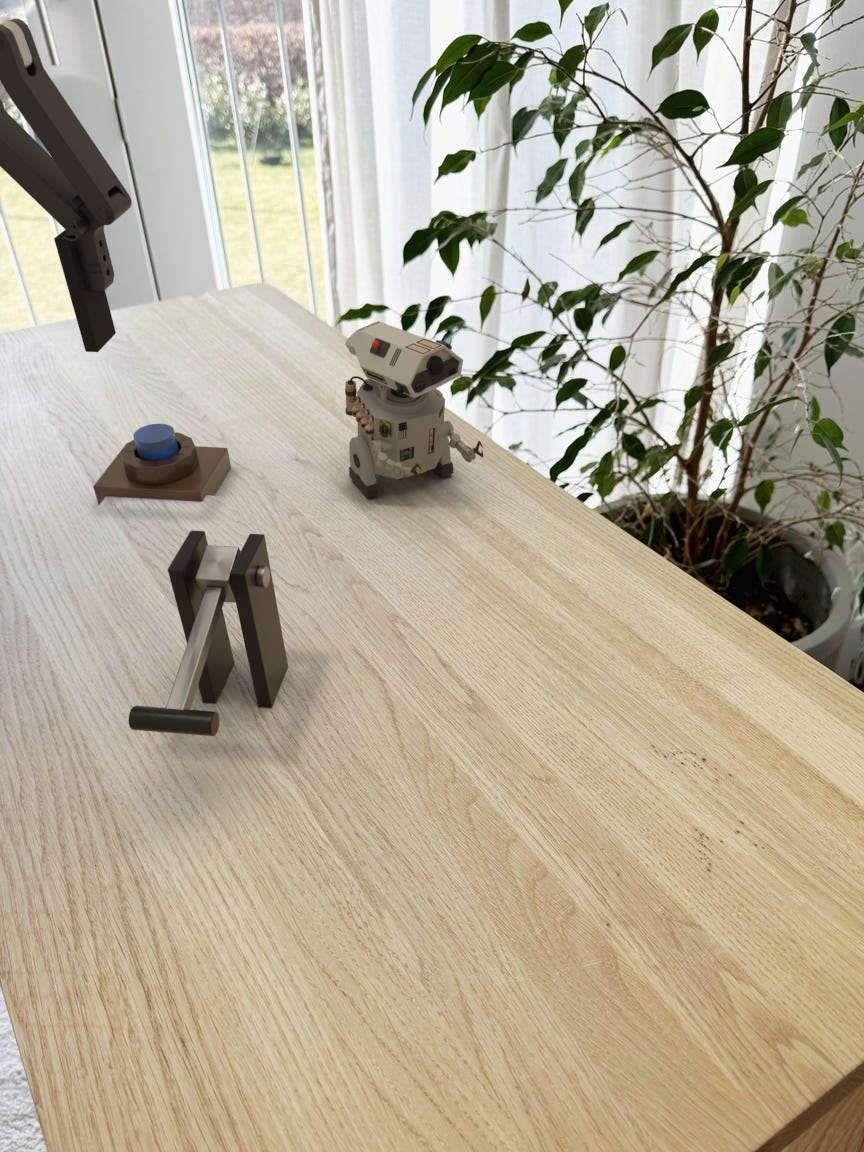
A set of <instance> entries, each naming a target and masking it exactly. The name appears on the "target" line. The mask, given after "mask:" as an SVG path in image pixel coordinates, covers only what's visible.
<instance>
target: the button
mask: <svg viewBox="0 0 864 1152" xmlns="http://www.w3.org/2000/svg"><path fill="white" fill-rule="evenodd" d="M133 440H134V441H135V445H136V449H137V453H138V456H139V458H140V459H141V460H143V461H159V460H164V459H168V458H170V457H172V456H174V455H176V454H178V451H179V449H178V445H177V440H176V436H175V429H174V427H173V426H171V425H170V424H166V423H152V424H146V425H144V426H141V427H139V428H138V429H136V430H135V431H134V433H133Z"/></svg>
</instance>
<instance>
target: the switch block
mask: <svg viewBox="0 0 864 1152" xmlns="http://www.w3.org/2000/svg"><path fill="white" fill-rule="evenodd" d="M174 432H175V431H174ZM175 436H176V440H177V445H178V449H179V451H178V454H176V455H174V456H172V457H170V458H168V459H164V460H159V461H143V460H141V459H140V458H139V456H138V453H137V449H136V445H135V441H134V439H132V440H130V441H128V442H126V443H125V444H124V445H123V447H122V449H121V450H120V451H119V453H117V455H116V456H115V457H114V458H113V460H112V461H111V462H110V464H109V465H108V467H107V468H106V469H105V471H103V473H102V474H101V475H100V477H99V478H98V479H97V481H96V482H95V483H94V485H93V491H94V494H95V497H96V501H97V504H98V506H100V505H101V504H102V502H103V501H104V500H105V499H106V498H107V497H110V498H111V497H114V498H131V499H147V500H149V499H151V500H165V501H166V500H168V501H185V502H186V501H187V502H203V501H204V500H205V498H206V497H207V496H214V497H215V496H216V494H217V493H218V491H219V489H220V487H221V486H222V484H223V482H224V481H225V479H226V477H228V474H229V472H230V470H231V469H232V464H231V459H230V454H229V449H228V447H221V446H219V447H217V446H215V447H214V446H198V445H197V446H196V444H195V442H194V440H193V438H192V437H191V436H188V435H186V434H183V433H181V432H175Z"/></svg>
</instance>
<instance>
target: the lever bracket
mask: <svg viewBox="0 0 864 1152" xmlns="http://www.w3.org/2000/svg"><path fill="white" fill-rule="evenodd" d="M206 545H209V544H208V539H207V535H206V531H205V530H193V529H192V530H190V531H189V533H188V534H187V536H186V538H185V540H184V541H183V543H182V544H181V546H180V548H179V549H178V551H177V553H176V554H175V556H174V558H173V559H172V561H171V563H170V564H169V566H168V567H167V573H168V577H169V580H170V584H171V587H172V592H173V596H174V599H175V604H176V607H177V610H178V611H177V612H178V615H179V618H180V622H181V626H182V629H183V635H184V637H185V641H186V644H187V643H188V640H189V637H190V634H191V631H192V628H193V625H194V622H195V619H196V616H197V613H198V610H199V607H200V604H201V601H202V598H203V595H202V593H201V591H200V588H199V586H198V584H197V582H196V579H195V577H196V574H197V571H198V569H199V566H200V563H201V560H202V557H203V554H204V551H205V548H206ZM230 578H231V583H232V587H233V592H234V597H235V601H236V603H235V606H236V610H237V614H238V620H239V625H240V629H241V633H242V639H243V642H244V643H243V644H244V648H245V652H246V657H247V662H248V666H249V671H250V675H251V680H252V684H253V689H254V694H255V699H256V703H257V708H261V709H262V708H264V709H273V706H274V704H275V701H276V699H277V696H278V694H279V691H280V688H281V686H282V683H283V682H284V678H285V676H286V673H287V671H288V668H289V664H288V658H287V651H286V647H285V641H284V636H283V631H282V624H281V618H280V613H279V608H278V603H277V598H276V597H277V596H276V592H275V591H276V590H275V587H274V581H273V574H272V569H271V564H270V558H269V552H268V548H267V542H266V537H265V534H263V533H249V535H248V537H247V538H246V540H245V542H244V544H243V546H242V548H241V549H240V554H239V556H238V558H237V560H236V562H235V564H234V566H233V567H232V569H231V571H230ZM231 645H232V644H231V640H230V636H229V633H228V628H227V623H226V619H225V615H224V610H223V609H222V611H221V614H220V617H219V620H218V623H217V626H216V630H215V633H214V636H213V639H212V642H211V645H210V649H209V652H208V655H207V658H206V661H205V664H204V668H203V671H202V674H201V677H200V680H199V684H198V687H197V688H198V691H199V695H200V699H201V701H202V704H211V705H212V704H213V705H216V704H217V703H218V700H219V698H220V696H221V694H222V692H223V689H224V687H225V685H226V683H227V680H228V678H229V676H230V673H231V671H232V670H233V667H234V665H235V658H234V654H233V650H232V646H231Z"/></svg>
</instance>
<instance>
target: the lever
mask: <svg viewBox="0 0 864 1152" xmlns="http://www.w3.org/2000/svg"><path fill="white" fill-rule="evenodd" d="M240 552H241V549H240V547H239V546H231V545H230V546H227V545H215V544H211V545H210V544H208V545H206V548H205V551H204V554H203V557H202V560H201V563H200V566H199V569H198V571H197V574H196V577H195V579H196V582H197V584H198V586H199V588H200V591H201V593H202V595H203V598H202V601H201V604H200V607H199V610H198V613H197V616H196V619H195V622H194V625H193V628H192V631H191V634H190V637H189V640H188V643H187V642H186V646H185V649H184V652H183V655H182V658H181V661H180V663H179V667H178V671H177V673H176V676H175V679H174V682H173V686H172V689H171V691H170V694H169V697H168V701H167V704H166V707H159V706H148V705H146V706H145V705H134V706H132V707H131V709H130V710H129V713H128V714H129V715H128V726H129V728H130V730H132V731H141V732H154V733H165V734H180V735H190V736H191V735H192V736H203V737H204V736H205V737H215V736H216V735H217V734H218V731H219V728H220V716H219V713H218V712H217V711H213V710H212V711H211V710H201V709H199V710H198V709H192V705H193V702H194V699H195V696H196V693H197V690H198V688H199V687H198V684H199V680H200V677H201V674H202V671H203V668H204V664H205V661H206V658H207V655H208V652H209V649H210V645H211V642H212V639H213V636H214V633H215V630H216V626H217V623H218V620H219V617H220V614H221V611H222V610H223V607H224V604H225V603H231V604H232V603H233V604H236V601H235V597H234V592H233V587H232V583H231V578H230V571H231V569H232V567H233V566H234V564H235V562H236V560H237V558H238V556H239V554H240Z"/></svg>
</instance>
